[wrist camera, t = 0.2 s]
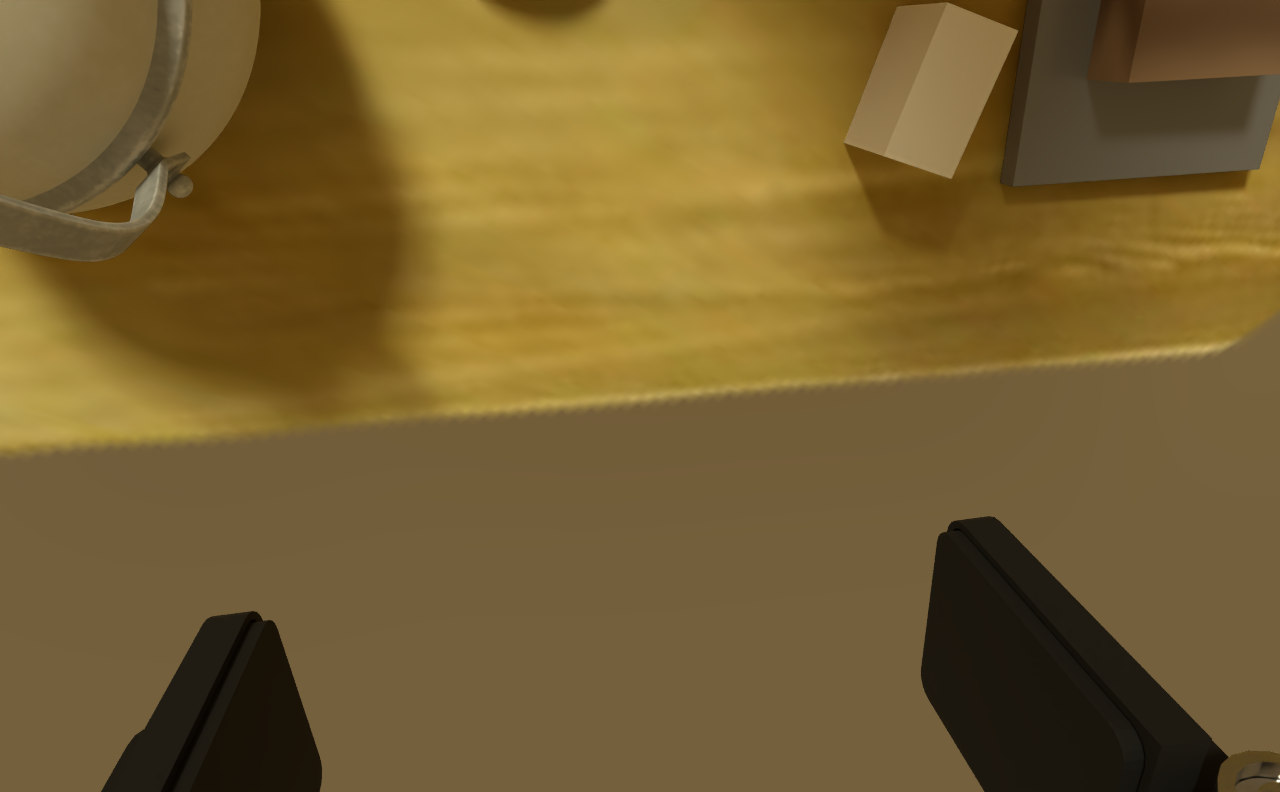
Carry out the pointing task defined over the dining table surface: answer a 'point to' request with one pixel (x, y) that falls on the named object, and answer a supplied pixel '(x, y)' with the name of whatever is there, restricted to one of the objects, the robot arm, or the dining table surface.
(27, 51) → the kettle
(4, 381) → the dining table surface
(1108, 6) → the brick walnut
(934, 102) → the brick cream
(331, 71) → the dining table surface
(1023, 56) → the slate board
